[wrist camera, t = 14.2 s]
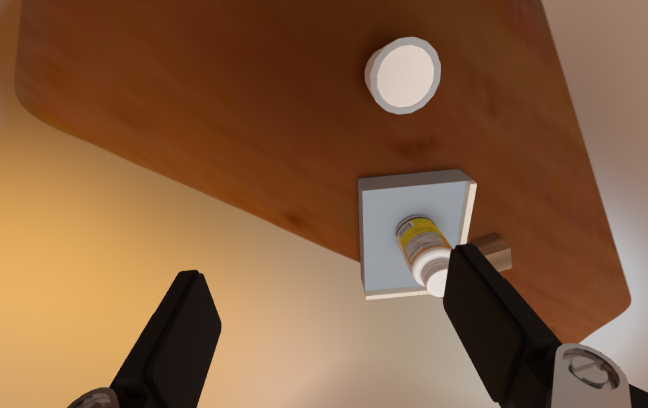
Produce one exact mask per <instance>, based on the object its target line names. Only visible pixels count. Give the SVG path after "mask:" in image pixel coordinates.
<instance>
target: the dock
mask: <svg viewBox="0 0 648 408" xmlns="http://www.w3.org/2000/svg"><path fill="white" fill-rule="evenodd" d="M476 187H477V183H476V182H474V181H473V180H472V179H471V178H469V177H468V176H467V175H466V174H464V173H463V172H462V171H460V170H459V169H453V170H442V171H432V172H421V173H411V174H401V175H390V176H380V177H370V178H359V179H358V202H359V231H360V261H361V279H362V284H363V288H364V293H365V297H366V300H371V299H381V298H392V297H403V296H413V295H424V294H430V293H429V292H428V291H427V289H426V287H424V286H422V285H420V284H418V283H417V282H416V281H415V280H414V278H413V276H412V274H411V272H410V270H409V267H408V265H407V263H406V261H405V259H404V256H403V254H402V252H401V250H400V248H399V245H398V243H397V241H396V230H397V228H398V226H399V225H400V223H401V222H403V221H404V220H405V219H407V218H409V217H412V216H425V217H427V218H429V219H431V220H432V221H433V222H434V224H435V225H436V226H437V228H438V229H439V230H440V232H441V233H442V234H443V236H444V237H445V238H446V240H447V241H448V243H449V244H450V245H451V247H452V248H453V249H455V246H456V245H461V244H466V242H467V237H468V231H469V225H470V220H471V214H472V209H473V203H474V198H475V192H476Z"/></svg>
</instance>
